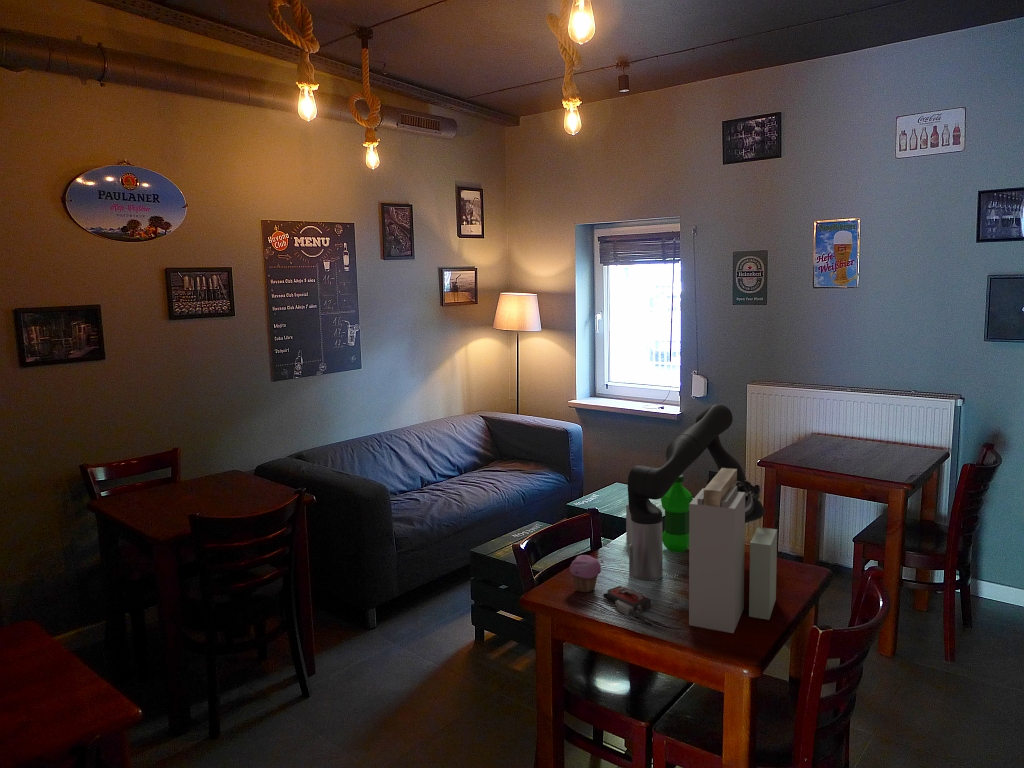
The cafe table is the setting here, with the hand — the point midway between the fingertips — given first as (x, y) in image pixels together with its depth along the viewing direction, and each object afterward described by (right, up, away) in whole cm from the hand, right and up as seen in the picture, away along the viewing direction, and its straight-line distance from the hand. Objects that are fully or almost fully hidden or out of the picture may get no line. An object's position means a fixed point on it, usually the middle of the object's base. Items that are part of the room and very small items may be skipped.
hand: (729, 482), depth 198 cm
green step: (+7, -33, -6) cm, 34 cm away
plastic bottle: (-6, -28, +38) cm, 47 cm away
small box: (-16, -27, +46) cm, 56 cm away
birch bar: (-6, -1, -11) cm, 12 cm away
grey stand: (-6, -34, -10) cm, 36 cm away
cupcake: (-39, -32, +9) cm, 51 cm away
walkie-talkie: (-27, -34, -4) cm, 44 cm away
